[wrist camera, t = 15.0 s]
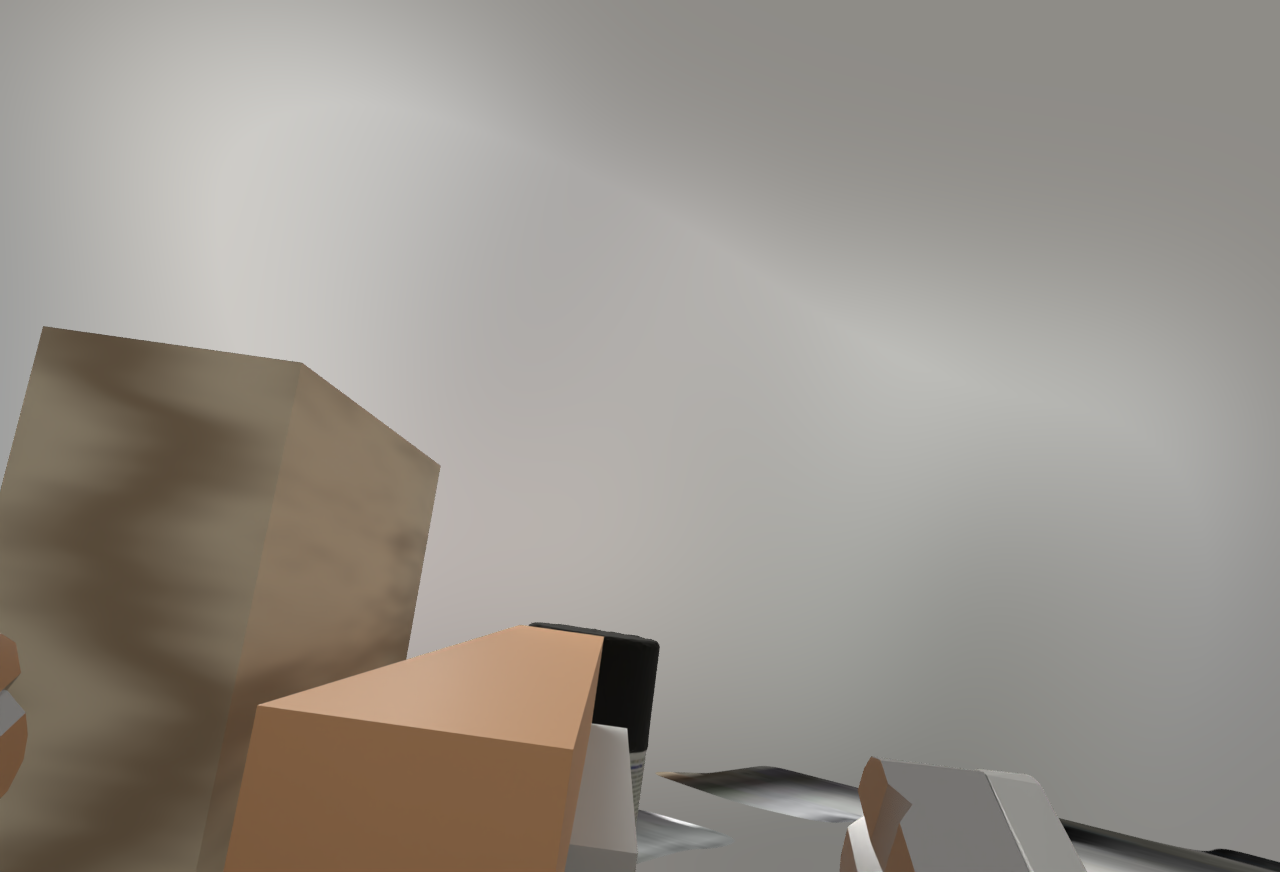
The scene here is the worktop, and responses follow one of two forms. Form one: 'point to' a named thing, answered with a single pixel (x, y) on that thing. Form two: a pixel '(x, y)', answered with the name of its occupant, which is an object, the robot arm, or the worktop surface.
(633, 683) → the spray can
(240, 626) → the beige rectangular block
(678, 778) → the worktop surface
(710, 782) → the worktop surface
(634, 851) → the base
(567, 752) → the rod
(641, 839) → the worktop surface
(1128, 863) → the worktop surface
